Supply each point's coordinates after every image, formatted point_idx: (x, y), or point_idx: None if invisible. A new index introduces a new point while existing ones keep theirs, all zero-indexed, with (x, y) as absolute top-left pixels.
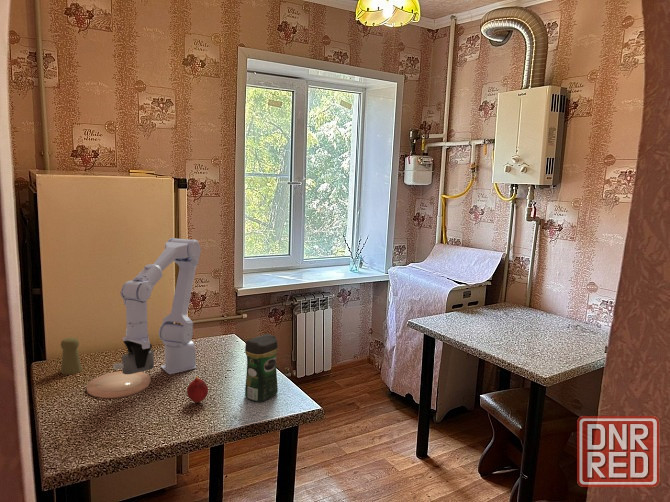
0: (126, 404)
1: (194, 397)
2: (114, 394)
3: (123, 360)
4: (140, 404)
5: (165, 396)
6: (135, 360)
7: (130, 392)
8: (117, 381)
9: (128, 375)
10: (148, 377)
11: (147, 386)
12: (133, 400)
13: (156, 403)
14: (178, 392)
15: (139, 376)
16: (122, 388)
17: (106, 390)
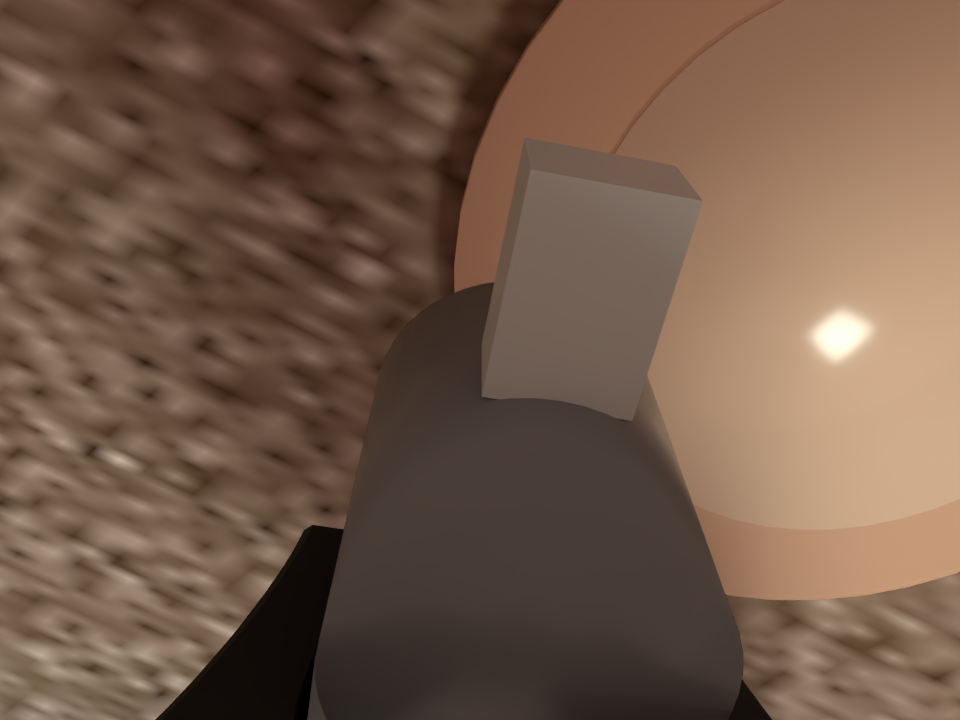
0: (232, 40)
1: None
2: (576, 48)
3: (492, 458)
4: (114, 170)
5: (145, 460)
6: (305, 640)
7: (463, 236)
8: (912, 288)
9: (938, 461)
10: None
11: None
12: (287, 169)
13: (26, 312)
14: (154, 580)
15: (792, 524)
16: None
17: (791, 28)
